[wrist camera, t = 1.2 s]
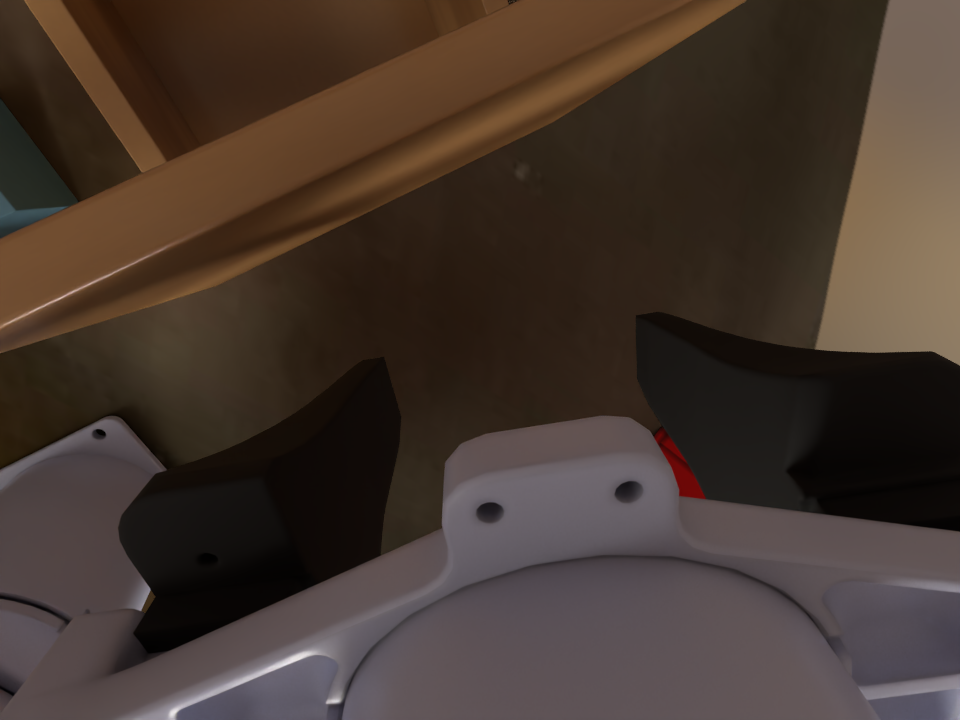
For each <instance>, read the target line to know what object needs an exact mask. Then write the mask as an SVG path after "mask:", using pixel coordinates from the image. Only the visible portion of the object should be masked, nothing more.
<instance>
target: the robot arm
mask: <svg viewBox="0 0 960 720" xmlns="http://www.w3.org/2000/svg"><path fill="white" fill-rule="evenodd" d="M636 351H637V380H638V382H639V384H640V387H641V389H642V391H643V393H644V396H645V398H646V400H647V402H648V404H649V406H650V407H651V409H652V411H653V412H654V414H655V415H656V417H657V418H658V420H659V421H660V423H661V424H662V426H663V427H664V429H665V430H666V432H667V433H668V435H669V436H670V438H671V439H672V441H673V442H674V444H675V445H676V447H677V448H678V450H679V451H680V453H681V454H682V456H683V457H684V459H685V460H686V462H687V464H688V465H689V467H690V469H691V470H692V472H693V474H694V476H695V478H696V480H697V482H698V484H699V486H700V488H701V490H702V492H703V494H704V496H705V498H706V499H699V498H691V497H683V496H679V488H678V485H677V482H676V479H675V476H674V473H673V470H672V468H671V466H670V464H669V463H668V461H667V459H666V457H665V456H664V454H663V452H662V451H661V449H660V447H659V446H658V444H657V442H656V440H655V439H654V437H653V435H652V434H651V432H650V430H648V429H647V428H645V427H644V426H642V425H641V424H639V423H638V422H636V421H634V420H633V419H631V418H630V417H617V416H597V417H590V418H584V419H577V420H571V421H565V422H558V423H552V424H545V425H539V426H533V427H526V428H520V429H513V430H507V431H501V432H494V433H488V434H484V435H481V436H479V437H476V438H474V439H471V440H469V441H466V442H464V443H461V444H460V445H459V446H458V447H457V449H456V450H455V451H454V452H453V453H452V455H451V456H450V457H449V458H448V459H447V461H446V462H445V473H444V486H443V508H442V528H441V529H439V530H436V531H434V532H432V533H430V534H428V535H425V536H423V537H421V538H419V539H417V540H414V541H412V542H410V543H408V544H405V545H403V546H401V547H399V548H397V549H394V550H392V551H390V552H388V553H385V554H383V555H381V556H380V553H381V542H382V531H383V521H384V514H385V508H386V503H387V498H388V494H389V489H390V485H391V481H392V476H393V472H394V467H395V462H396V458H397V453H398V448H399V442H400V426H401V415H400V411H399V408H398V404H397V401H396V397H395V394H394V390H393V387H392V383H391V380H390V376H389V372H388V369H387V365H386V362H385V358H384V357H380V358H374V359H368V360H363V361H361V362H359V363H358V364H357V365H355V366H354V367H353V368H352V369H350V370H349V371H348V372H347V373H346V374H344V375H343V376H342V377H341V378H340V379H338V380H337V381H336V382H335V383H334V384H332V385H331V386H330V387H329V388H328V389H326V390H325V391H324V392H323V393H321V394H320V395H319V396H317V397H316V398H315V399H313V400H312V401H311V402H310V403H308V404H307V405H306V406H304V407H303V408H301V409H300V410H299V411H297V412H296V413H294V414H293V415H291V416H290V417H288V418H286V419H285V420H283V421H281V422H280V423H278V424H276V425H275V426H273V427H271V428H269V429H267V430H265V431H263V432H261V433H259V434H258V435H256V436H254V437H252V438H250V439H248V440H246V441H244V442H242V443H239V444H237V445H235V446H233V447H230V448H228V449H226V450H223V451H221V452H218V453H216V454H213V455H211V456H208V457H205V458H202V459H200V460H197V461H194V462H191V463H188V464H185V465H181V466H178V467H175V468H172V469H169V470H167V469H166V468H165V467H164V466H163V465H162V464H161V463H160V461H159V460H158V459H157V458H156V457H155V456H154V455H153V453H152V452H151V451H150V450H149V449H148V448H147V447H146V446H145V444H144V443H143V442H142V441H141V440H140V439H139V438H138V436H137V435H136V434H135V433H134V432H133V431H132V430H131V429H130V427H129V426H128V425H127V424H126V423H125V422H124V421H123V420H122V419H121V418H120V417H117V416H107V417H104V418H102V419H100V420H98V421H96V422H94V423H92V424H90V425H88V426H86V427H84V428H82V429H80V430H78V431H76V432H74V433H72V434H70V435H68V436H66V437H64V438H62V439H60V440H58V441H56V442H54V443H52V444H50V445H48V446H46V447H44V448H42V449H40V450H38V451H36V452H34V453H32V454H30V455H28V456H26V457H24V458H22V459H20V460H18V461H16V462H14V463H12V464H10V465H8V466H6V467H4V468H2V469H0V720H960V366H959V365H957V364H956V363H954V362H952V361H950V360H948V359H946V358H944V357H942V356H940V355H938V354H937V353H935V352H892V353H891V352H890V353H865V352H838V351H824V350H814V349H805V348H796V347H789V346H783V345H777V344H772V343H766V342H761V341H756V340H752V339H748V338H744V337H740V336H736V335H733V334H729V333H725V332H722V331H719V330H715V329H712V328H709V327H706V326H703V325H700V324H697V323H694V322H691V321H688V320H685V319H682V318H679V317H676V316H673V315H670V314H666V313H662V312H653V313H647V314H641V315H636ZM96 429H101V430H103V431H105V433H106V435H105V436H102V435H99V434H98V433H97V432H96ZM150 590H151V591H152V592H153V594H154V595H155V596H156V597H155V599H154V600H153V602H152V604H151V605H150V607H149V608H148V610H147V612H146V613H144V612H142V611H141V609H142V607H143V605H144V603H145V601H146V599H147V597H148V594H149V592H150Z"/></svg>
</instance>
